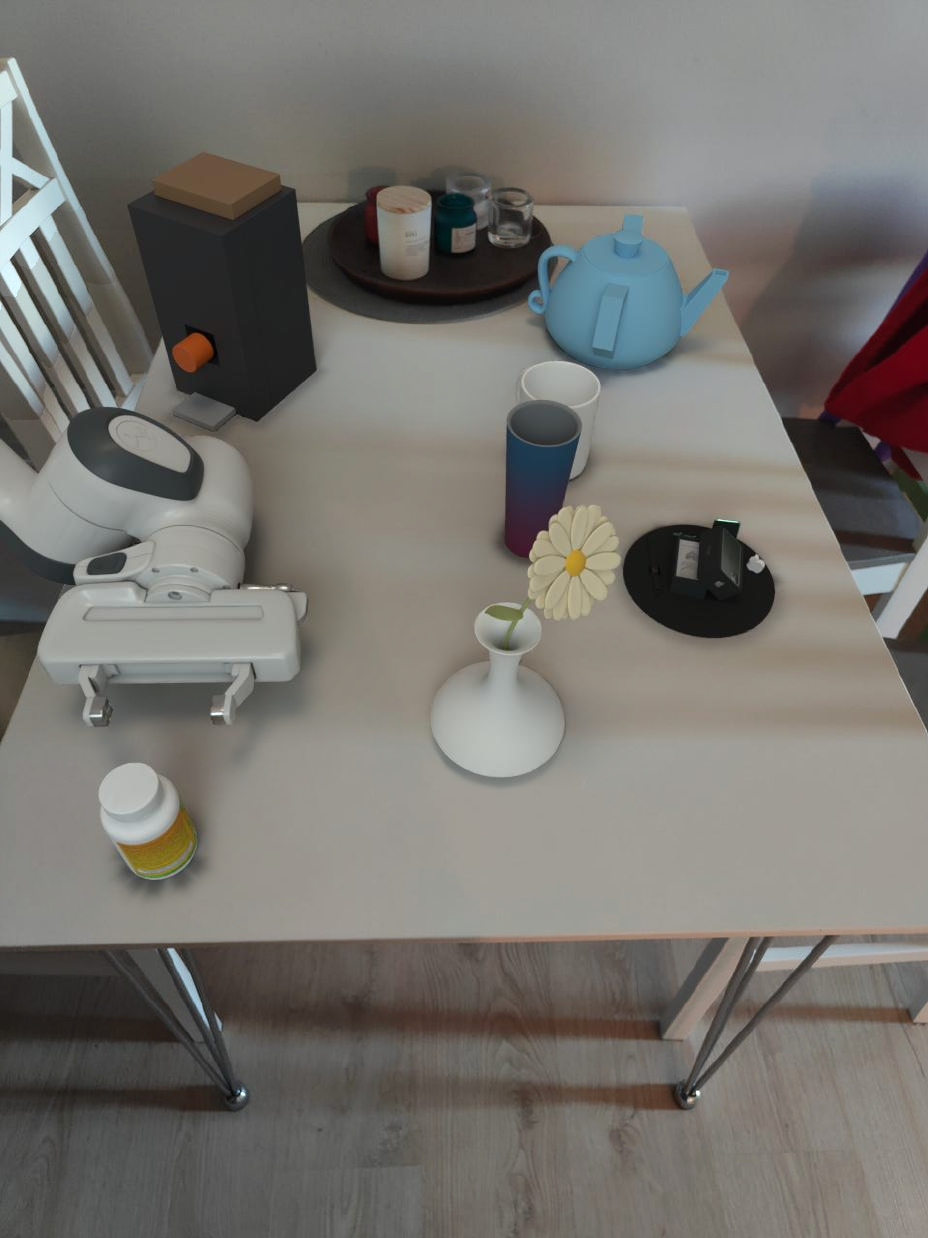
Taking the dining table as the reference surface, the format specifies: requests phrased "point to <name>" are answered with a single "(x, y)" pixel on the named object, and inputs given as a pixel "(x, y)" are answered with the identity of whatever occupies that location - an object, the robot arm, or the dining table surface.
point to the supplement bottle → (146, 821)
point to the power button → (192, 352)
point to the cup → (537, 468)
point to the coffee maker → (227, 284)
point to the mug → (564, 397)
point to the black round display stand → (699, 579)
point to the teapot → (619, 299)
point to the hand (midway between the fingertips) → (158, 722)
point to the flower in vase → (501, 688)
